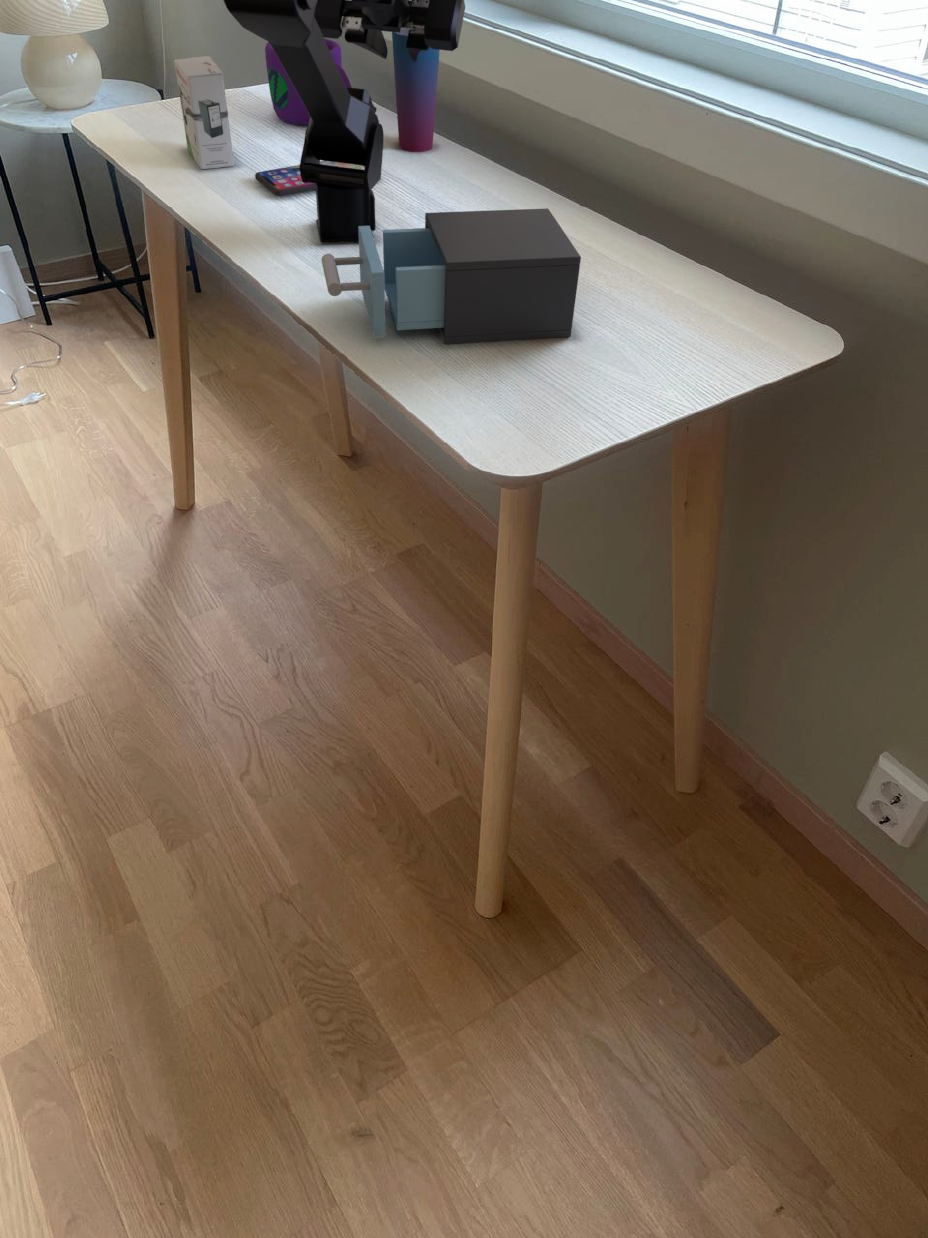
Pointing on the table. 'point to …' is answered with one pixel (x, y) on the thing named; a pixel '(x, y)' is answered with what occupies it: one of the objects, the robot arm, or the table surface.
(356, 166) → the smartphone
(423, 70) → the cup
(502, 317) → the dark grey drawer cabinet
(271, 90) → the mug
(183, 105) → the ink box
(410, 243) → the light blue drawer
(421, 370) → the table surface
